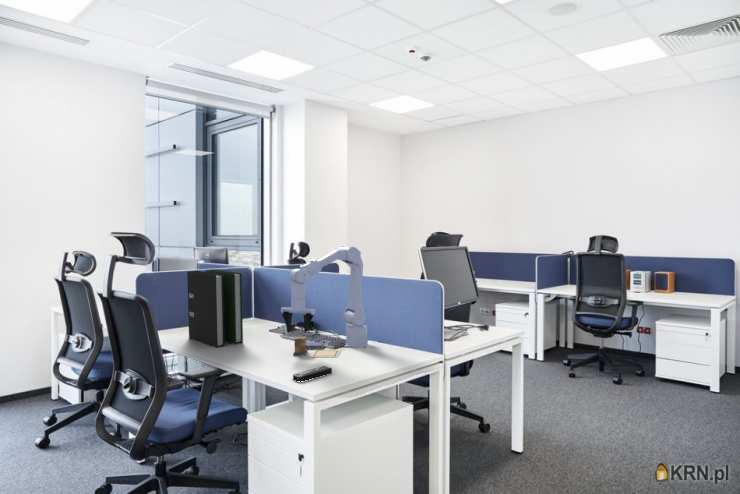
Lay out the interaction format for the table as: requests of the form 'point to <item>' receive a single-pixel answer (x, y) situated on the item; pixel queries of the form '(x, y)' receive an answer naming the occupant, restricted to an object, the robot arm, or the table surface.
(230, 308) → the binders
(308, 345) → the pad
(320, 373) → the multiport hub
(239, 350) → the table surface
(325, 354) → the card
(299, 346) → the stamp
